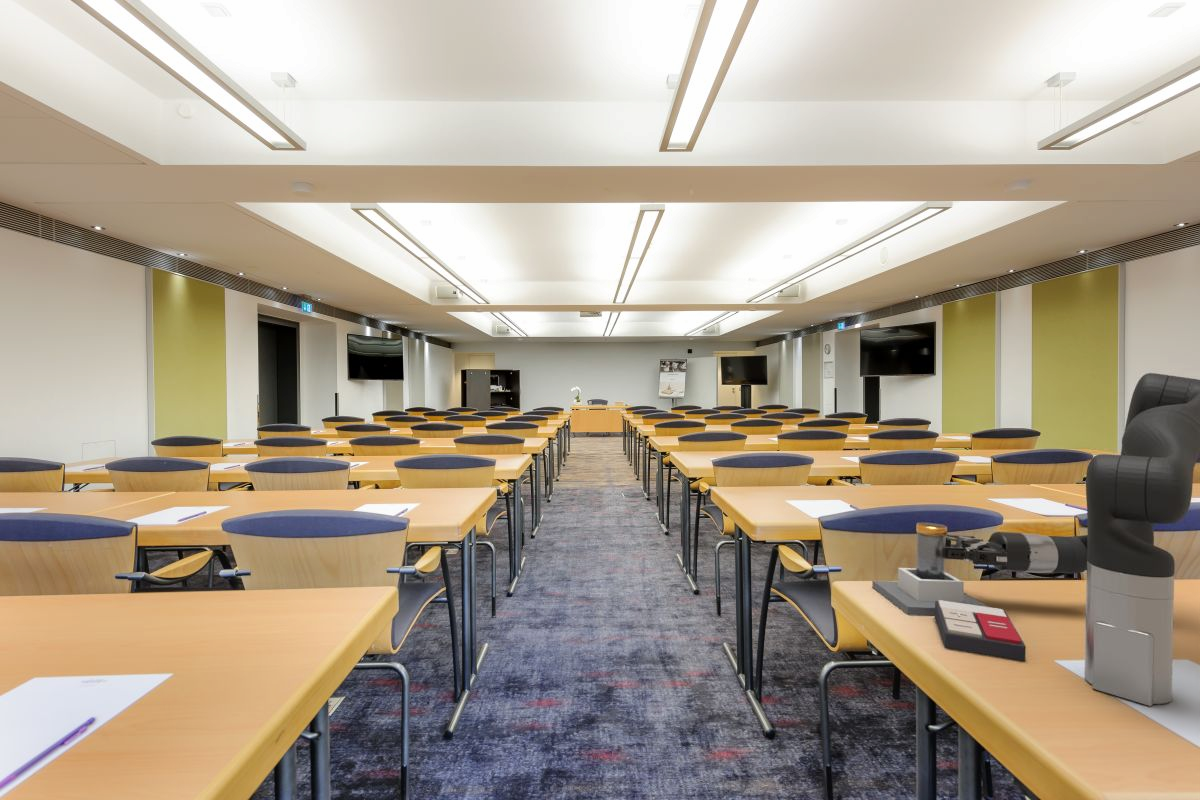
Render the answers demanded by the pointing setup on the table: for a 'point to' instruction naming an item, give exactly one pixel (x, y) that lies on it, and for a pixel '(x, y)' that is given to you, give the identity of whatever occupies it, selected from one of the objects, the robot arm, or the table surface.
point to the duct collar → (922, 592)
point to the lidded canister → (930, 551)
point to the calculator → (978, 630)
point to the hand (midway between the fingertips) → (934, 547)
